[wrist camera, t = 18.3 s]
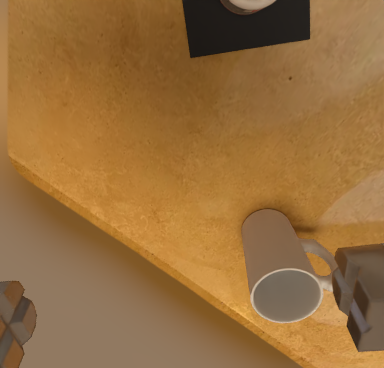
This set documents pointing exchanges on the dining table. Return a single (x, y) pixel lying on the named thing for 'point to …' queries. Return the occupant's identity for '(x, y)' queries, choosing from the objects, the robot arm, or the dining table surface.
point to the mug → (282, 268)
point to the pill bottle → (246, 5)
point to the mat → (243, 26)
